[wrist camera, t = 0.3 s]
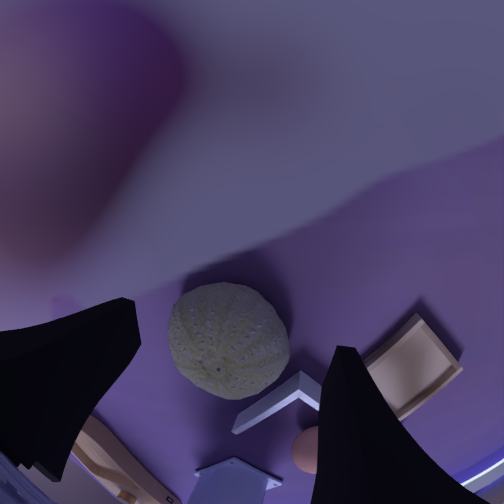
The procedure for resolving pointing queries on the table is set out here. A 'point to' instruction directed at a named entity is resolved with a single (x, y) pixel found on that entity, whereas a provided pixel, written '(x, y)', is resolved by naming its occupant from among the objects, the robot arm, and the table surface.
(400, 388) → the tray
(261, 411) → the white u-shaped arch
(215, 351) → the sea urchin shell
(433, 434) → the table surface
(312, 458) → the ball
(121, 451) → the lamp
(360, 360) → the robot arm
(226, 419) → the table surface
